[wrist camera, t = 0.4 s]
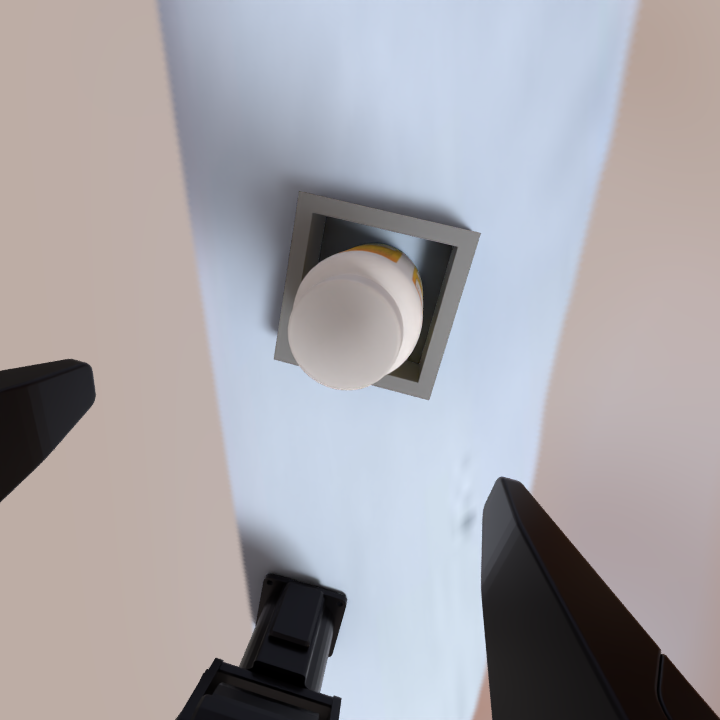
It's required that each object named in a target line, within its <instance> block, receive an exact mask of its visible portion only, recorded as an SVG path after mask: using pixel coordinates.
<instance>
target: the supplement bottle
mask: <svg viewBox="0 0 720 720" xmlns="http://www.w3.org/2000/svg"><path fill="white" fill-rule="evenodd" d="M422 321H423V286H422V281H421V277H420V275H419V272H418V270H417V268H416V266H415V265H414V263H413V262H412V261H411V260H410V259H409V258H408V256H406V255H405V254H404V253H403V252H401V251H400V250H398V249H396V248H394V247H391V246H389V245H385V244H379V243H369V244H363V245H359V246H356V247H354V248H351V249H348V250H346V251H343V252H340V253H337V254H335V255H332V256H330V257H328V258H326V259H325V260H323V261H321V262H320V263H318V264H317V265H316V266H315V267H314V268H312V269H311V270H310V271H309V272H308V274H307V275H306V276H305V278H304V279H303V281H302V282H301V284H300V286H299V288H298V291H297V294H296V297H295V300H294V304H293V310H292V312H291V315H290V318H289V324H288V340H289V345H290V348H291V352H292V354H293V356H294V358H295V360H296V362H297V363H298V365H299V366H300V367H301V368H302V370H303V371H304V372H305V373H306V374H307V375H308V376H310V377H311V378H312V379H314V380H315V381H317V382H318V383H320V384H322V385H324V386H327V387H330V388H333V389H338V390H357V389H362V388H365V387H368V386H370V385H372V384H374V383H376V382H377V381H379V380H380V379H381V378H383V377H384V376H385V375H387V374H389V373H390V372H392V371H394V370H395V369H397V368H398V367H399V366H400V365H401V364H403V363H404V361H405V360H406V359H407V358H408V357H409V355H410V354H411V353H412V351H413V349H414V347H415V345H416V343H417V341H418V338H419V336H420V332H421V328H422Z"/></svg>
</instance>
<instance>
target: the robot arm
mask: <svg viewBox="0 0 720 720" xmlns="http://www.w3.org/2000/svg"><path fill="white" fill-rule="evenodd" d="M95 397H96V393H95V385H94V379H93V371H92V368H91V366H90V365H89V364H87V363H85V362H81V361H78V360H74V359H65V360H60V361H54V362H48V363H42V364H37V365H31V366H25V367H19V368H14V369H8V370H2V371H0V502H1V501H2V500H3V499H4V498H5V497H6V496H7V495H9V494H10V493H11V492H12V491H13V490H14V488H16V487H17V486H18V485H19V484H20V483H21V482H22V481H23V480H24V479H25V478H26V477H27V476H28V475H29V474H30V473H32V472H33V471H34V470H35V469H36V468H37V467H38V466H39V465H40V463H42V462H43V460H45V459H46V458H47V456H48V455H49V454H50V453H51V452H52V451H53V450H54V449H55V448H56V446H57V445H58V444H59V443H60V442H61V441H62V440H63V438H64V437H65V436H66V435H67V434H68V433H69V431H70V430H71V429H72V428H73V427H74V426H75V425H76V423H77V422H78V421H79V420H80V419H81V418H82V416H83V415H84V414H85V413H86V412H87V411H88V410H89V409H90V407H91V406H92V405H93V403H94V401H95ZM481 595H482V608H483V619H484V631H485V642H486V653H487V665H488V676H489V687H490V697H491V698H490V699H491V710H492V720H720V718H719V717H718V716H717V715H716V713H714V711H713V710H712V709H711V708H710V707H709V705H708V704H707V703H706V702H705V701H704V700H703V698H702V697H701V696H700V695H699V694H698V693H697V691H696V690H695V689H694V688H693V687H692V686H691V684H690V683H689V682H688V681H687V680H686V679H685V677H684V676H683V675H682V674H681V673H680V671H679V670H678V669H677V668H676V667H675V665H674V664H673V663H672V662H671V661H670V660H669V658H668V657H667V656H666V655H664V654H661V649H660V648H659V647H658V645H657V644H656V643H655V642H654V641H653V639H652V638H651V637H650V636H649V635H648V634H647V632H646V631H645V630H644V629H643V627H642V626H641V625H640V624H639V623H638V621H637V620H636V619H635V618H634V617H633V616H632V614H631V613H630V612H629V611H628V610H627V609H626V607H625V606H624V605H623V604H622V602H621V601H620V600H619V599H618V598H617V596H615V594H614V593H613V592H612V591H611V589H610V588H609V587H608V586H607V585H606V583H605V582H604V581H603V580H602V579H601V577H600V576H599V575H598V574H597V573H596V571H595V570H594V569H593V568H592V567H591V566H590V564H589V563H588V562H587V561H586V559H585V558H584V557H583V556H582V555H581V554H580V552H579V551H578V550H577V549H576V548H575V546H574V545H573V544H572V543H571V541H570V540H569V539H568V538H567V537H566V536H565V534H564V533H563V532H562V531H561V530H560V528H559V527H558V526H557V525H556V524H555V522H554V521H553V520H552V519H551V518H550V516H549V515H548V514H547V513H546V512H545V510H544V509H543V508H542V507H541V506H540V504H539V503H538V502H537V501H536V500H535V498H534V497H533V496H532V495H531V494H530V492H529V491H528V490H527V489H526V488H525V487H524V485H523V484H522V483H521V482H519V481H517V480H513V479H510V478H506V477H499V478H498V479H497V480H496V482H495V484H494V486H493V488H492V490H491V493H490V495H489V497H488V499H487V501H486V503H485V506H484V509H483V519H482V560H481ZM346 604H347V598H346V597H345V596H344V595H342V594H338V593H335V592H332V591H328V590H325V589H322V588H318V587H315V586H312V585H308V584H305V583H302V582H299V581H295V580H292V579H289V578H285V577H282V576H279V575H275V574H271V573H269V574H267V575H266V577H265V579H264V582H263V587H262V593H261V599H260V604H259V610H258V615H257V621H256V627H255V629H254V632H253V634H252V637H251V639H250V642H249V644H248V646H247V649H246V651H245V654H244V656H243V658H242V661H241V663H240V665H239V667H238V666H235V665H231V664H228V663H225V662H223V660H221V659H218V658H215V659H214V661H213V663H212V665H211V666H210V668H209V669H207V670H206V671H205V673H203V675H202V677H201V679H200V681H199V683H198V685H197V686H196V688H195V690H194V691H193V693H192V695H191V697H190V698H189V700H188V702H187V703H186V705H185V707H184V708H183V710H182V712H181V713H180V714H179V715H178V717H177V718H176V719H175V720H339V713H340V706H341V698H340V697H337V696H333V697H331V696H328V695H325V694H322V693H320V690H321V686H322V681H323V677H324V672H325V668H326V663H327V659H328V657H330V656H332V654H333V650H334V647H335V643H336V640H337V636H338V633H339V629H340V626H341V622H342V619H343V615H344V612H345V608H346Z"/></svg>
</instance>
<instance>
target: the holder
mask: <svg viewBox="0 0 720 720" xmlns="http://www.w3.org/2000/svg"><path fill="white" fill-rule="evenodd" d="M326 216H329V217H333V218H338V219H342V220H346V221H350V222H355V223H359V224H363V225H367V226H372V227H376V228H380V229H384V230H389V231H393V232H397V233H401V234H406V235H410V236H414V237H418V238H423V239H427V240H431V241H435V242H440V243H444V244H448V245H452V246H453V248H452V251H451V255H450V258H449V262H448V265H447V269H446V272H445V276H444V279H443V283H442V286H441V289H440V293H439V296H438V300H437V303H436V307H435V310H434V314H433V317H432V321H431V324H430V328H429V331H428V334H427V338H426V341H425V345H424V348H423V352H422V355H421V359H420V362H419V364H418V363H414V362H410V361H406V360H405V361H404V363H403V364H401V365H400V366H399V367H398V368H397V369H395V370H394V371H392V372H390V373H389V374H387V375H385V376H384V377H383V378H381V379H380V380H379V381H377V382H376V383H374V384H372V385H373V386H377V387H381V388H384V389H388V390H392V391H396V392H400V393H403V394H407V395H411V396H415V397H419V398H422V399H426V400H429V399H430V396H431V393H432V389H433V386H434V383H435V380H436V376H437V373H438V370H439V367H440V363H441V360H442V357H443V354H444V351H445V347H446V344H447V341H448V338H449V334H450V331H451V328H452V325H453V321H454V318H455V315H456V312H457V308H458V305H459V302H460V299H461V296H462V292H463V289H464V286H465V283H466V279H467V276H468V273H469V270H470V266H471V263H472V260H473V257H474V254H475V250H476V247H477V244H478V241H479V237H480V234H481V233H479V232H474V231H470V230H466V229H461V228H457V227H453V226H448V225H444V224H440V223H435V222H431V221H427V220H422V219H418V218H414V217H409V216H405V215H401V214H397V213H392V212H388V211H384V210H379V209H375V208H371V207H366V206H362V205H358V204H353V203H349V202H345V201H340V200H336V199H332V198H328V197H323V196H319V195H315V194H310V193H306V192H302V191H299V195H298V201H297V208H296V215H295V221H294V228H293V234H292V241H291V248H290V254H289V261H288V268H287V274H286V281H285V288H284V294H283V301H282V308H281V314H280V321H279V328H278V334H277V341H276V348H275V354H274V360H278V361H282V362H286V363H290V364H293V365H297V366H299V365H298V363H297V362H296V360H295V358H294V356H293V354H292V352H291V348H290V345H289V340H288V324H289V318H290V315H291V312H292V310H293V304H294V300H295V297H296V294H297V291H298V288H299V286H300V284H301V282H302V281H303V279H304V278H305V276H306V275H307V274H308V272H309V271H310V270H311V269H312V268H314V267H315V266H316V265H317V264H318V262H319V256H320V250H321V245H322V239H323V233H324V228H325V222H326Z"/></svg>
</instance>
